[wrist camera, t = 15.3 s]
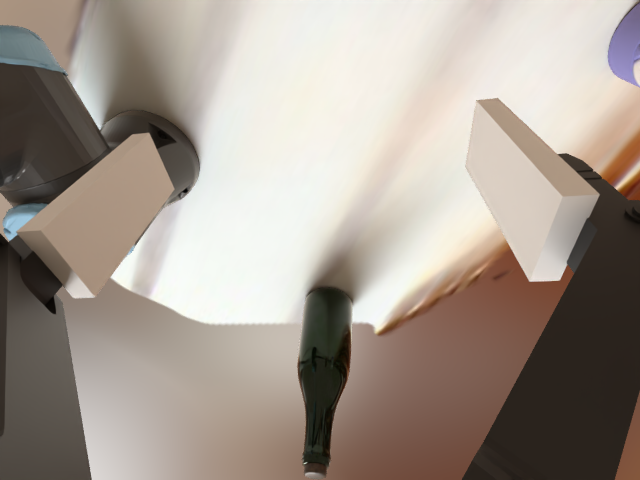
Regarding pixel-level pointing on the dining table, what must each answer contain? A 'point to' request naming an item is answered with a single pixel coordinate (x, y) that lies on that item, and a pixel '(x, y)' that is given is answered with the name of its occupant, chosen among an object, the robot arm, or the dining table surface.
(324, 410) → the beer bottle
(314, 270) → the dining table surface
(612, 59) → the container
